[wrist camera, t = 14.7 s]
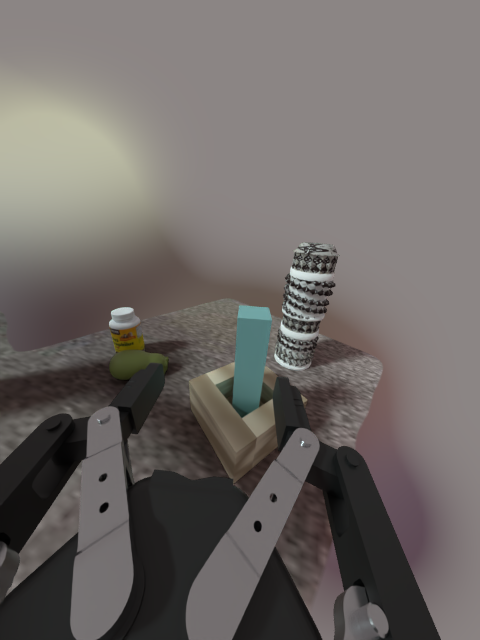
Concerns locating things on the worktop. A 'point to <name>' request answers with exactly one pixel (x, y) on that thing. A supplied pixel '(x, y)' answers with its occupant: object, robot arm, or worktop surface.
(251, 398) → the peg
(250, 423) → the socket block
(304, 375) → the worktop surface
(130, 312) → the supplement bottle
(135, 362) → the pear
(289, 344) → the decorative candle
